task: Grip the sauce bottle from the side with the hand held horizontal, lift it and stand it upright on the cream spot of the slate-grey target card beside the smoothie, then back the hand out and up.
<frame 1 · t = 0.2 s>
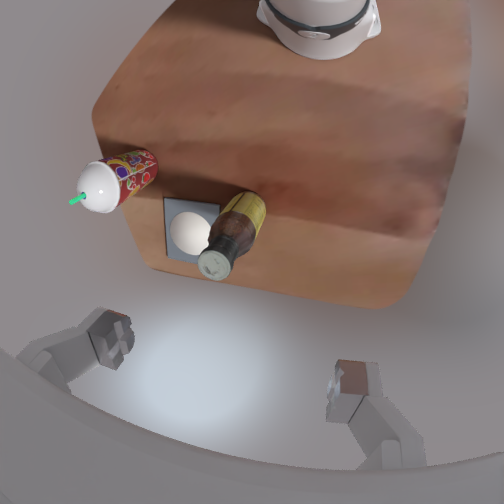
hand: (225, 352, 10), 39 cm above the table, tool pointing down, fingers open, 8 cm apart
smoothie: (146, 165, 50), on the table
target card: (192, 232, 55), on the table
sauce bottle: (251, 206, 50), on the table
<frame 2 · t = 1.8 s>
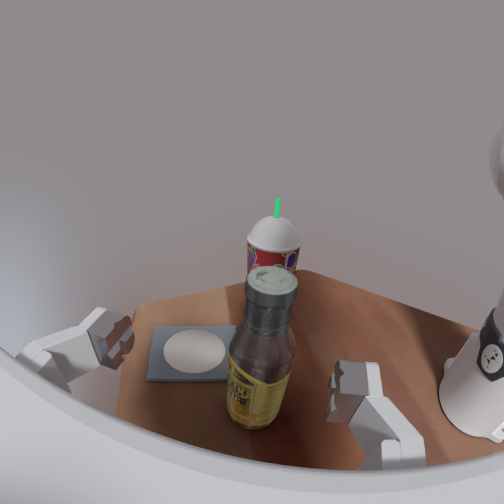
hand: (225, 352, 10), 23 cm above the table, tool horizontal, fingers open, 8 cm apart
smoothie: (266, 311, 50), on the table
target card: (194, 353, 40), on the table
sauce bottle: (252, 413, 31), on the table
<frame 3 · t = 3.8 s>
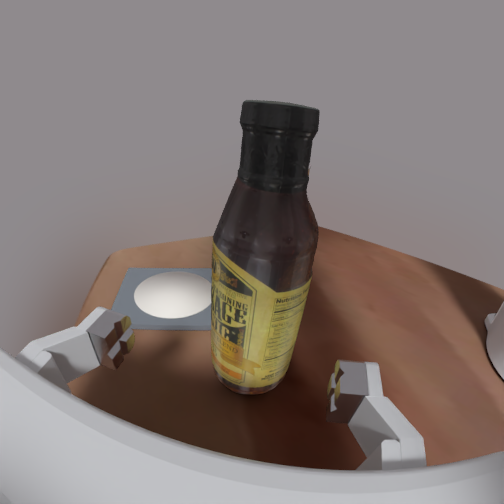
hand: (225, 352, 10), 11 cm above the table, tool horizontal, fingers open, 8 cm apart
target card: (174, 297, 31), on the table
sauce bottle: (250, 373, 23), on the table
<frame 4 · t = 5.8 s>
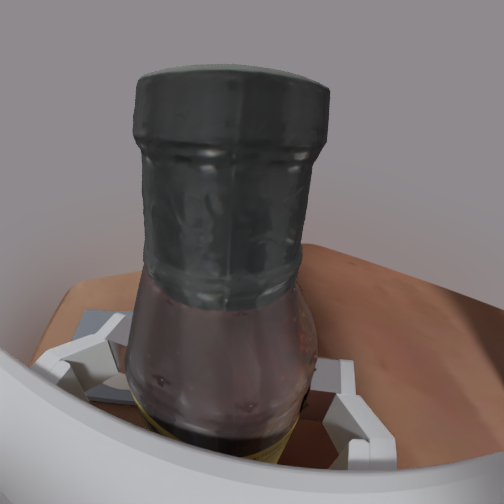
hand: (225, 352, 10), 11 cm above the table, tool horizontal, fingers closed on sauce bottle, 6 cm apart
target card: (133, 354, 23), on the table
sauce bottle: (221, 472, 14), on the table, touching gripper
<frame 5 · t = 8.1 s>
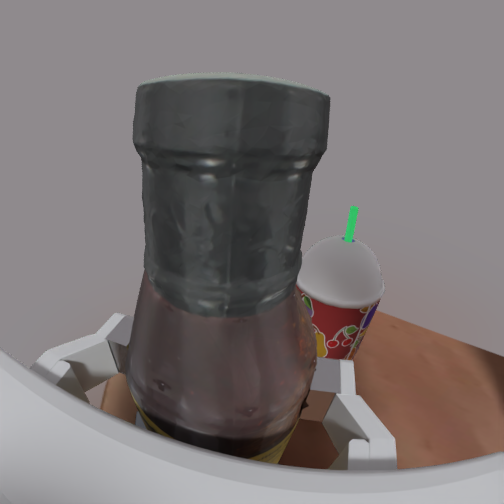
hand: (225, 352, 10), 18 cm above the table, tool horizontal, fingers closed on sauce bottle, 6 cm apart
smoothie: (310, 378, 31), on the table
sauce bottle: (221, 474, 14), point 7 cm above the table, touching gripper
when the fingers open (13 cm above the table, at t = 10.1 s): sauce bottle stays where it is, resting on target card.
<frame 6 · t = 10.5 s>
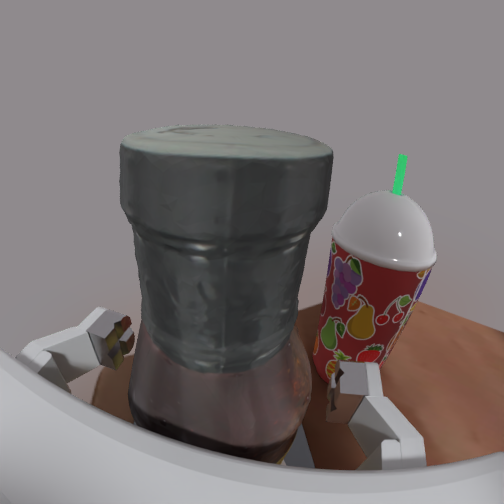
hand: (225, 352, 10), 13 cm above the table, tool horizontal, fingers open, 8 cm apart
smoothie: (342, 369, 26), on the table
target card: (222, 479, 15), on the table
sauce bottle: (221, 478, 15), point 1 cm above the table, touching target card
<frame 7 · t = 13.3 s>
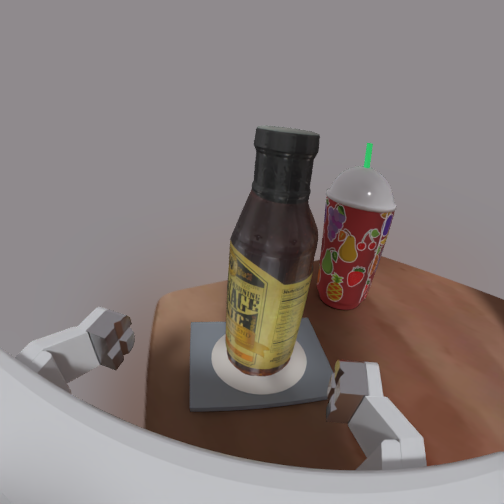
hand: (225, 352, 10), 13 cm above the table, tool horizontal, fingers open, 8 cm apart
smoothie: (339, 299, 37), on the table
target card: (258, 361, 26), on the table
sauce bottle: (258, 358, 26), point 1 cm above the table, touching target card
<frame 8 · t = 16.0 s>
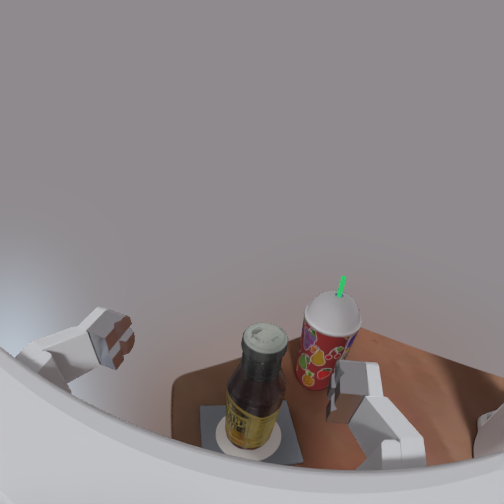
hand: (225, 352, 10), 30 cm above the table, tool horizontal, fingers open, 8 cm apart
smoothie: (313, 378, 45), on the table
target card: (248, 436, 34), on the table
sauce bottle: (248, 435, 34), point 1 cm above the table, touching target card
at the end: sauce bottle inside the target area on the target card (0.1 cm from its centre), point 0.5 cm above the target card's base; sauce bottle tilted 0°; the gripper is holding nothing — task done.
